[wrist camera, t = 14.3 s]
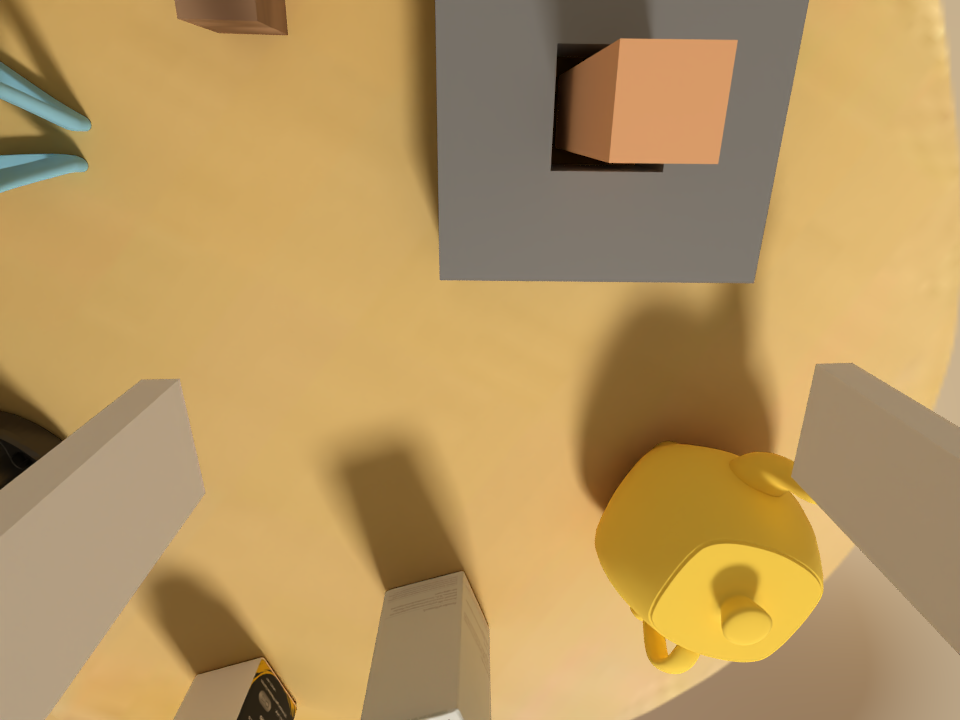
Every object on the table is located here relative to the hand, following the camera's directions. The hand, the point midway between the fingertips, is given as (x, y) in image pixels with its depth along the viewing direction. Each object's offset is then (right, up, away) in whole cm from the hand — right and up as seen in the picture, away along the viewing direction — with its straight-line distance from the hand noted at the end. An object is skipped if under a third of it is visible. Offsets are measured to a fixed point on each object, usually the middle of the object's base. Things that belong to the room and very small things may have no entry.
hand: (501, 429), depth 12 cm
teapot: (+16, -8, +33) cm, 38 cm away
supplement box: (-4, -20, +38) cm, 43 cm away
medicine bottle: (-22, -29, +42) cm, 56 cm away
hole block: (+6, +17, +23) cm, 29 cm away
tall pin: (+6, +17, +23) cm, 29 cm away
